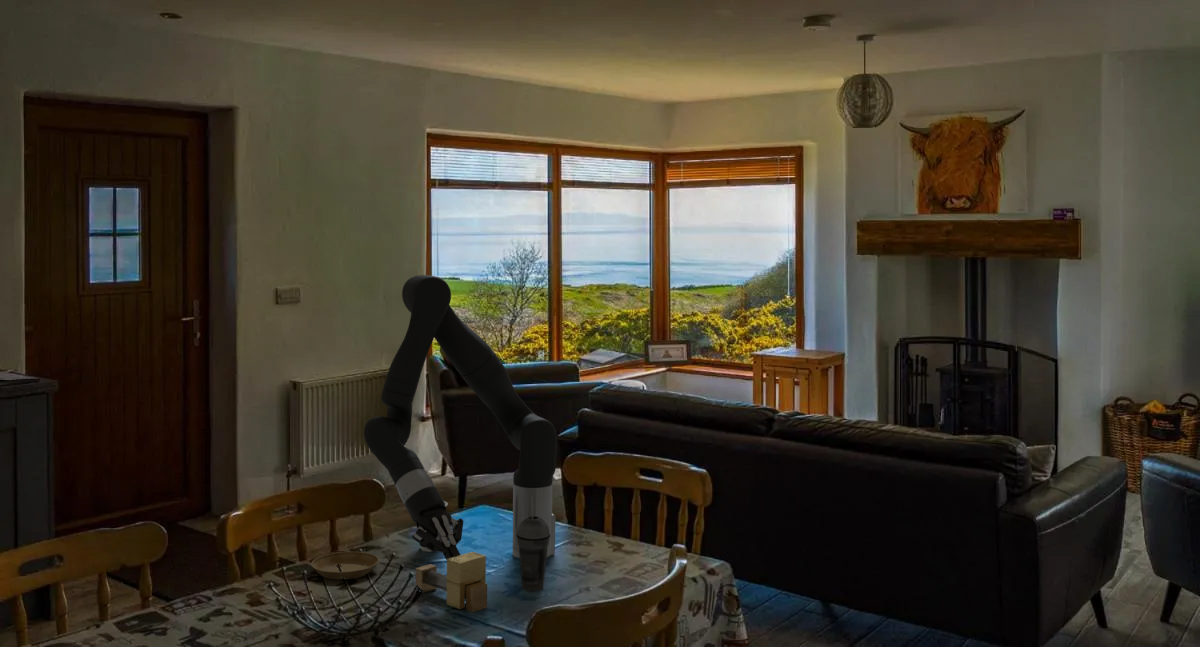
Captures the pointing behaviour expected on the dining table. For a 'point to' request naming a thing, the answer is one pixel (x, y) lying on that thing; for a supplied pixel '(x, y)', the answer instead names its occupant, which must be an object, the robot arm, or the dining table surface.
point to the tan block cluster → (432, 580)
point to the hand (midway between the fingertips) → (457, 564)
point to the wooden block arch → (463, 576)
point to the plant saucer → (345, 564)
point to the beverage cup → (533, 551)
